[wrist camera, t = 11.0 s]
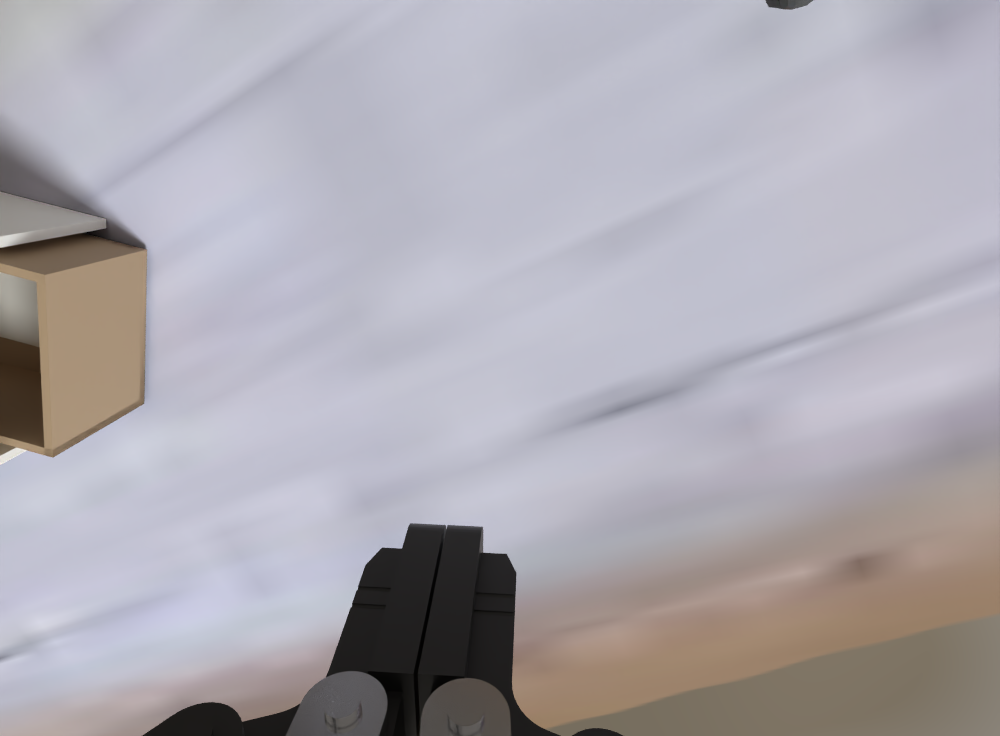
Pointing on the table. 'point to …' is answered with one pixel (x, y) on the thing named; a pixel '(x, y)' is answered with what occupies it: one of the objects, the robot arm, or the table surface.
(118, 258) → the wooden drawer
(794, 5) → the figurine
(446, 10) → the table surface
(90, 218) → the sleeve
